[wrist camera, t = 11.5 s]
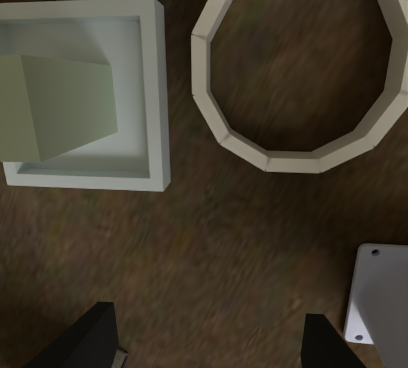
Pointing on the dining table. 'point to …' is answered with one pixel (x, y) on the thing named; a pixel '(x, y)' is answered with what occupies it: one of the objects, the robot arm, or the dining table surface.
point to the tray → (122, 82)
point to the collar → (332, 152)
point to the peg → (52, 106)
